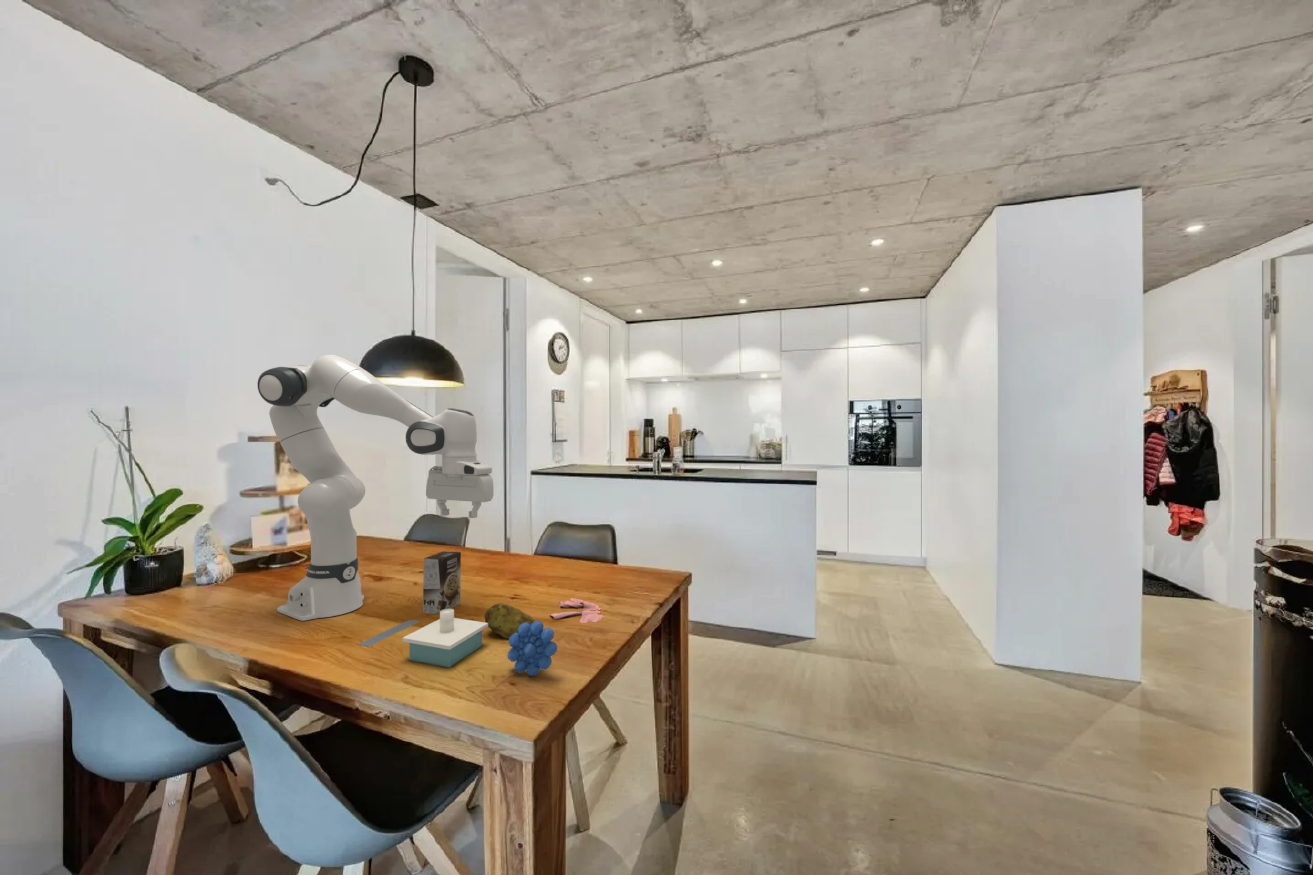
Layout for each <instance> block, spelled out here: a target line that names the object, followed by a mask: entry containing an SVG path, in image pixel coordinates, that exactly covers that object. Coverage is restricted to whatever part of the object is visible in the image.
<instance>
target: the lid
mask: <svg viewBox="0 0 1313 875" xmlns="http://www.w3.org/2000/svg"><path fill="white" fill-rule="evenodd" d="M487 628H489V627H488V623H486V622H485V621H484V622H482V621H477V620H471V619H464V618H457V617H455V609H454V608H452V609H444V610H442V611H440V613H439V619H437V620H435V621H433V622H431V623H429V624H427V625H425V626H423V627H421V628H419V629H417V630H415V631H413V632H411V633H409V634H407V635H406V636H403V637H402V638H401V639H402V640H401V642H404V643H414V644H420V645H425V646H431V647H437V648H442V649H448V650H450V649H452V648H453V647H455V646H457V645H458V644H460V643H462V642H463V641H465V640H467V639H468V638H470V637H472V636H473V635H475V634H476V633H478V632H480V631H481V630H482V631H483V630H485V629H487Z"/></svg>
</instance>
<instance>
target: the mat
mask: <svg viewBox="0 0 1313 875" xmlns="http://www.w3.org/2000/svg"><path fill="white" fill-rule="evenodd" d="M420 622H421V620H415V619H409V620H406V621H403V622H401V623H400V624H398V625H395V626H392V627H390V628H388V629H387V630H385V631H384V630H383V631H382V632H381V633H378V634H376V635H374V636H371V637H370V638H368V639H365V640H363V641H362V642H359V643H357V644H356V645H358V646H364V647H368V648H369V647H371V646H373V645H375V644H377V643H379V642H382V641H384V640H385V639H387V638H390V637H392V636H393V635H395V634H397V633H399V632H402V631H403V630H406V629H407V628H410V627H412V626H414V625H416V624H417V623H420Z"/></svg>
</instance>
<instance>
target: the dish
mask: <svg viewBox="0 0 1313 875" xmlns="http://www.w3.org/2000/svg"><path fill="white" fill-rule="evenodd" d="M408 645H409V648H408V649H409V650H408V651H409V654H408V655H409V658H408V660H409V661H414V662H420V663H424V664H429V665H435V666H440V667H444V668H451V667H452V666H454V665H455V664H457V663H458V662H460V661H461V660H463V659H464V658H465V657H467V656H469V655H470V654H472V653H473V652H475V651H476V650H478V649H479V648H481V647H482V646H483V630H481V631H480V632H478V633H476V634H475V635H473V636H472V637H470V638H468V639H467V640H465V641H463V642H462V643H460V644H458V645H457V646H455V647H453V648H452V649H450V650H448V649H442V648H437V647H431V646H425V645H420V644H414V643H409V644H408Z"/></svg>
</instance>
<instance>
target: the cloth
mask: <svg viewBox="0 0 1313 875" xmlns="http://www.w3.org/2000/svg"><path fill="white" fill-rule="evenodd" d="M570 600H571V601H570ZM572 601H574V602H572ZM577 602H578V603H577ZM599 607H600V606H599V605H598V604H596V603H594V602H589V601H587V600H583V599H580V598H579V599H578V598H575V597H573V598H572V597H571V598H570V599H569V600H565V601H562V600H560V601H559V608H560V609H562V608H563V609H583V610H584V611H583V610H582V611H565V612H556V613H552V614H550V615H549V617H552V619H553V620H554V621H557V620H560V619H565V618H574V617H575V618H576V617H581V618H580V619H579V623H580V624H588V623H590V622H589V621H592V622H597V621H598V622H599V621H601V620H602V618H603V619H604V618H605V617H604V616H603V615H598V614H597V613H600V611H598V610H600V609H602V607H600V608H599ZM597 609H598V610H597ZM590 610H596V611H590ZM587 622H588V623H587ZM592 622H591V623H592ZM598 622H597V623H598Z"/></svg>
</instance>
